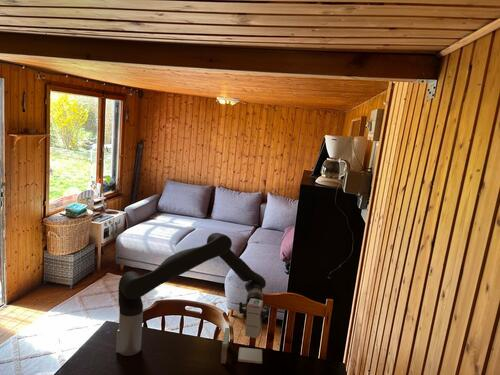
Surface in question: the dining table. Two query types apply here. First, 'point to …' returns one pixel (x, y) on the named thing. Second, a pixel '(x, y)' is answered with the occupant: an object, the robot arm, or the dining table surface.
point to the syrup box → (253, 318)
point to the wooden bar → (226, 337)
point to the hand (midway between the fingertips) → (254, 317)
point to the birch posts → (224, 353)
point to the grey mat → (250, 355)
